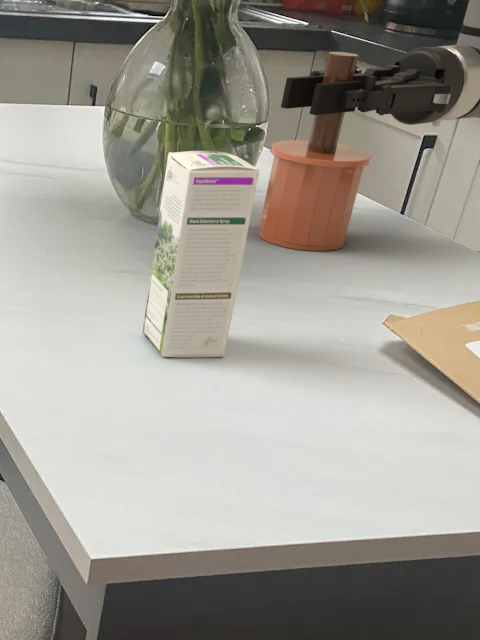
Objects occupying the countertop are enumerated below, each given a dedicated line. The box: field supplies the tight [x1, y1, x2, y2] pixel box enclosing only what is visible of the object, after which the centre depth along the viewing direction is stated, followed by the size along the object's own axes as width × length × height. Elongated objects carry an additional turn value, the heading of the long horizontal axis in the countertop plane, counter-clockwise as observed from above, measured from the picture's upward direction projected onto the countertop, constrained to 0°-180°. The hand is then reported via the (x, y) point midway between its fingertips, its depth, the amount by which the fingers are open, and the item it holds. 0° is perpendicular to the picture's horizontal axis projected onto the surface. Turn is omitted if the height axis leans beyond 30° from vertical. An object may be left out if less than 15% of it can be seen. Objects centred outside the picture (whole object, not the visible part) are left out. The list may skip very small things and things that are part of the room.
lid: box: [269, 51, 373, 168], centre depth 112 cm, size 11×11×10 cm
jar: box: [258, 155, 365, 252], centre depth 117 cm, size 9×9×8 cm
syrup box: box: [141, 150, 260, 359], centre depth 85 cm, size 6×6×14 cm
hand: (301, 96), depth 108 cm, fingers closed on lid, 3 cm apart
